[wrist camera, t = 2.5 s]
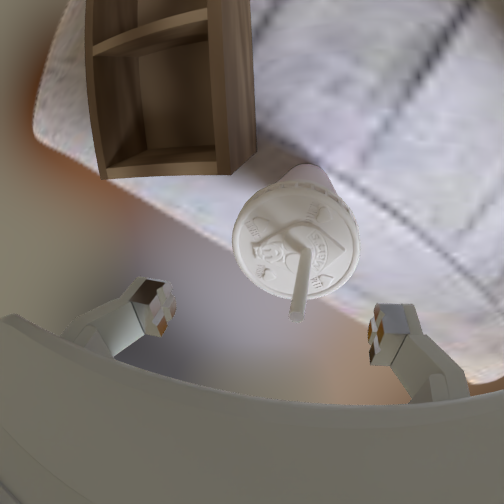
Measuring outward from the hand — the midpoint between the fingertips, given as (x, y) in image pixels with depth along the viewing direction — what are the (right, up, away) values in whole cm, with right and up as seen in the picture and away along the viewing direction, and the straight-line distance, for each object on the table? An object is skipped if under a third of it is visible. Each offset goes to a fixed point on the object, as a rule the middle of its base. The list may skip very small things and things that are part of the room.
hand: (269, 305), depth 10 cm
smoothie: (+4, +7, +11) cm, 13 cm away
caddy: (-6, +22, +3) cm, 23 cm away
